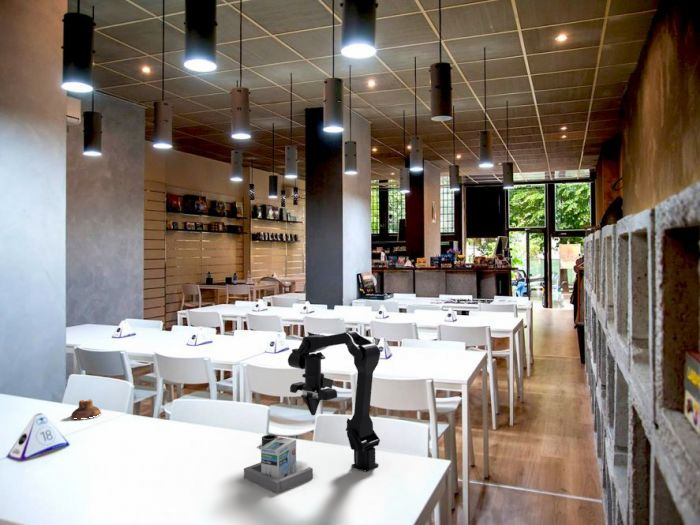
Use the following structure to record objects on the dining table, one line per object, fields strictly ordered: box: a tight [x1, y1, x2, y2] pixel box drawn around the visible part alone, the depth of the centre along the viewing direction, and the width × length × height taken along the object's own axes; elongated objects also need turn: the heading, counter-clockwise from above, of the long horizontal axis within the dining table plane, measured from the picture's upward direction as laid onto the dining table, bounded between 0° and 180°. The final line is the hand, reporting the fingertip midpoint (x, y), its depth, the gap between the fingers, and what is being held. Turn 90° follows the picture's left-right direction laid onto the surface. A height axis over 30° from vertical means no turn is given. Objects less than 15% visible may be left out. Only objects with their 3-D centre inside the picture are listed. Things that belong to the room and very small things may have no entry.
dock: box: [243, 461, 314, 494], centre depth 164 cm, size 16×14×3 cm
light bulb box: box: [260, 436, 297, 480], centre depth 165 cm, size 11×7×11 cm, turn 157°
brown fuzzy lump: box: [70, 398, 102, 419], centre depth 232 cm, size 12×12×7 cm
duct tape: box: [261, 434, 279, 447], centre depth 194 cm, size 8×10×3 cm
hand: (313, 415), depth 189 cm, fingers closed
